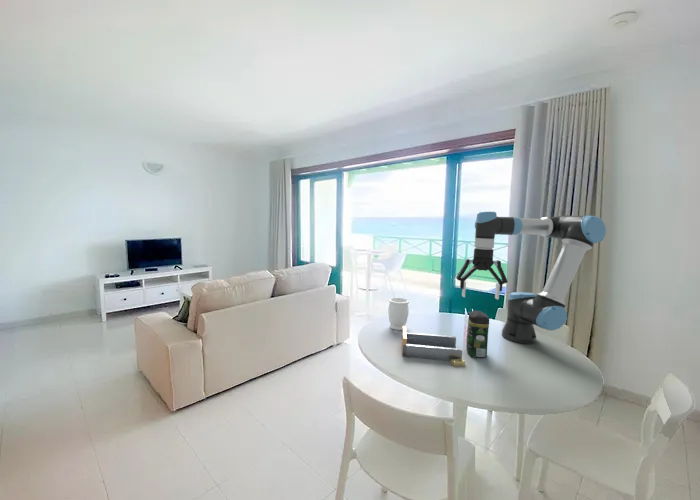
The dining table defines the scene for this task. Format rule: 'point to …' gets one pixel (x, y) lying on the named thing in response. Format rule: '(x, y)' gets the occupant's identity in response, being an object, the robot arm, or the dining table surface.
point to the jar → (398, 313)
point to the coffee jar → (477, 334)
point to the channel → (429, 346)
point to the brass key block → (457, 362)
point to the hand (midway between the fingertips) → (479, 297)
